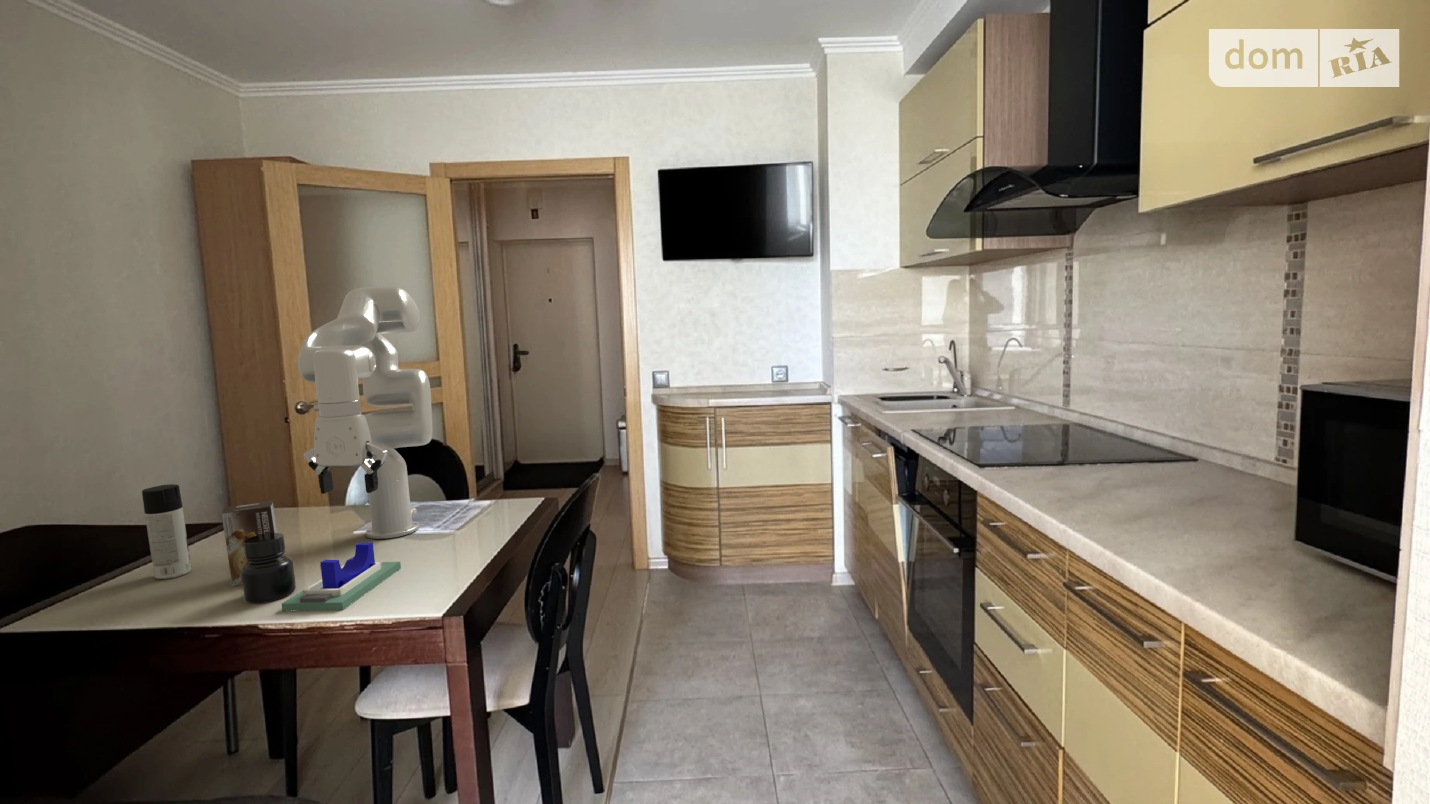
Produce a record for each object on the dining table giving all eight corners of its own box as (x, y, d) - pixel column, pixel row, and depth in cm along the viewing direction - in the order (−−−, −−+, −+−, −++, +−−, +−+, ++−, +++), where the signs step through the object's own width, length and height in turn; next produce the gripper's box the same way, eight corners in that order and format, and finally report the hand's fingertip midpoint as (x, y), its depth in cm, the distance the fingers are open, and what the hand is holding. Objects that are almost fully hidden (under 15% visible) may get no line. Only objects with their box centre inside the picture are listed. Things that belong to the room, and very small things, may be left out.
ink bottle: (302, 583, 148) (296, 528, 146) (292, 599, 139) (285, 541, 138) (249, 591, 145) (242, 535, 143) (235, 607, 136) (228, 548, 135)
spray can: (198, 570, 159) (187, 484, 156) (167, 581, 152) (154, 491, 150) (178, 568, 161) (166, 483, 158) (146, 578, 155) (133, 490, 152)
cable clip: (356, 569, 151) (353, 542, 150) (375, 569, 150) (372, 542, 149) (316, 591, 139) (313, 562, 138) (337, 591, 138) (333, 562, 137)
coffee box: (283, 569, 157) (275, 499, 155) (281, 578, 152) (272, 505, 150) (234, 577, 153) (225, 506, 151) (230, 587, 147) (220, 513, 145)
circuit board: (348, 569, 155) (347, 557, 155) (400, 568, 155) (399, 556, 154) (282, 611, 134) (280, 597, 133) (343, 610, 133) (341, 596, 132)
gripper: (287, 413, 139) (297, 497, 141) (370, 411, 138) (380, 496, 140) (311, 407, 146) (321, 487, 149) (390, 405, 145) (399, 486, 148)
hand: (349, 491), depth 144 cm, fingers open, 9 cm apart
